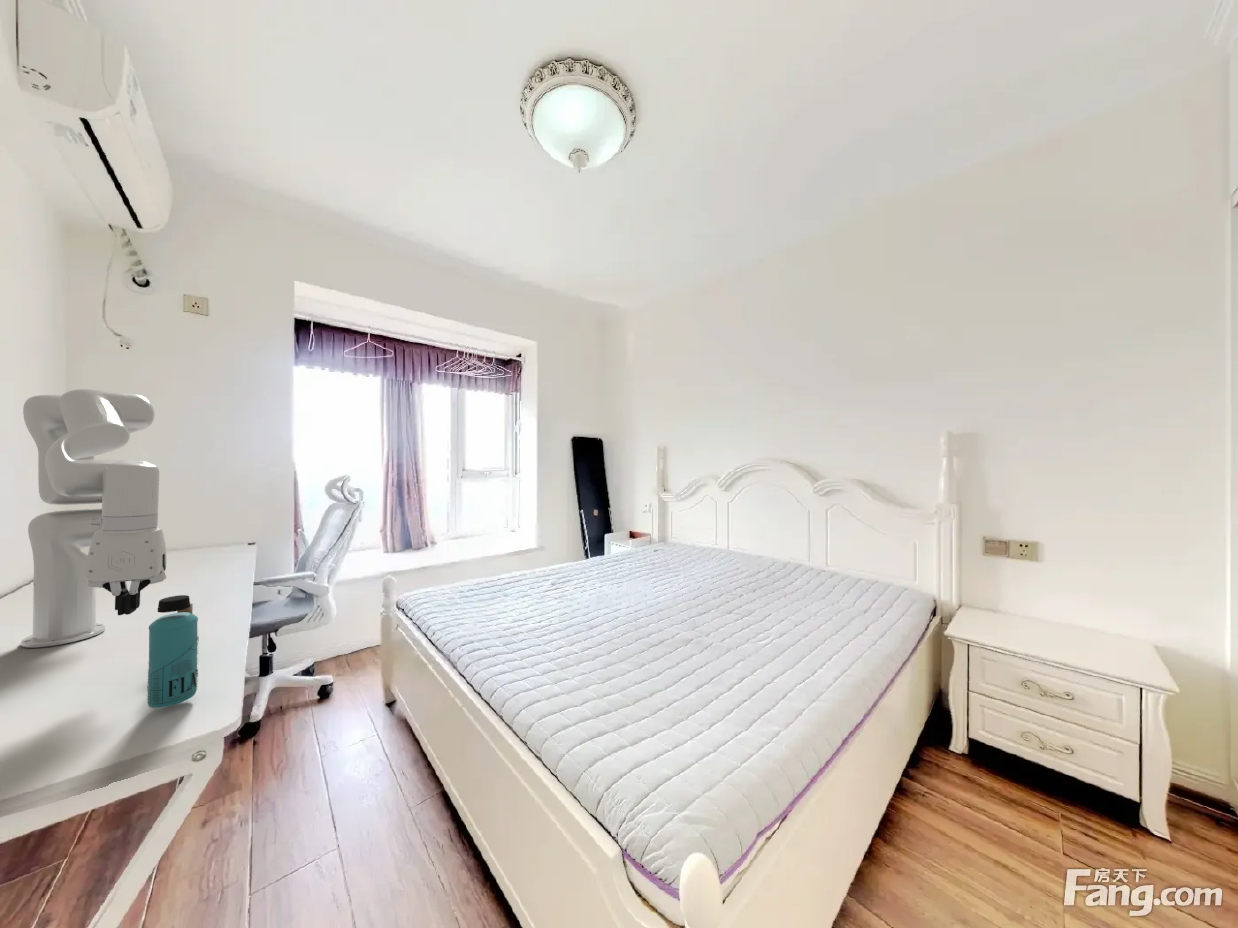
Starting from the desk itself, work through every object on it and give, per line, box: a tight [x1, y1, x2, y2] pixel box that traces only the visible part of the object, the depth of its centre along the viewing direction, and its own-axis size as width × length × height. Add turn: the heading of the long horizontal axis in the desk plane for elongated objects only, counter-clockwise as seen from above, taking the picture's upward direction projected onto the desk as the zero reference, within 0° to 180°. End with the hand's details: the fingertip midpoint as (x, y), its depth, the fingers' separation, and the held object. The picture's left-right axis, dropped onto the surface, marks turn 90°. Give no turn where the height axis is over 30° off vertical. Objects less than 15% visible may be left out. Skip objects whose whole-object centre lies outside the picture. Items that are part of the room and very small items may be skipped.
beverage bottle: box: [146, 594, 200, 709], centre depth 77 cm, size 6×7×20 cm
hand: (127, 612), depth 86 cm, fingers closed
